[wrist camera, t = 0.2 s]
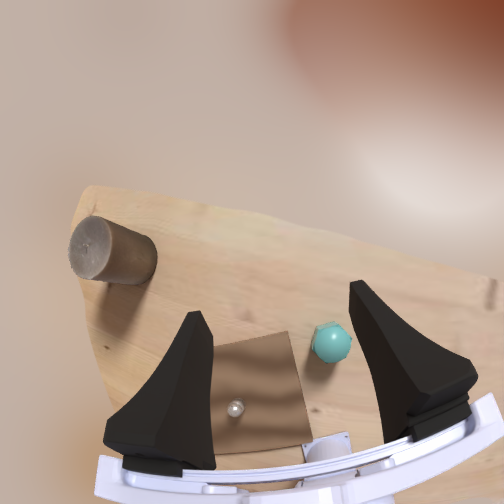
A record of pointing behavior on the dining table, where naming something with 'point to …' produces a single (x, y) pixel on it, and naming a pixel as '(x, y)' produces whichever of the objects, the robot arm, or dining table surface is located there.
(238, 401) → the stud
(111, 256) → the pillar candle
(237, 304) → the dining table surface
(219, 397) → the brown flat square slab
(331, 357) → the cap
